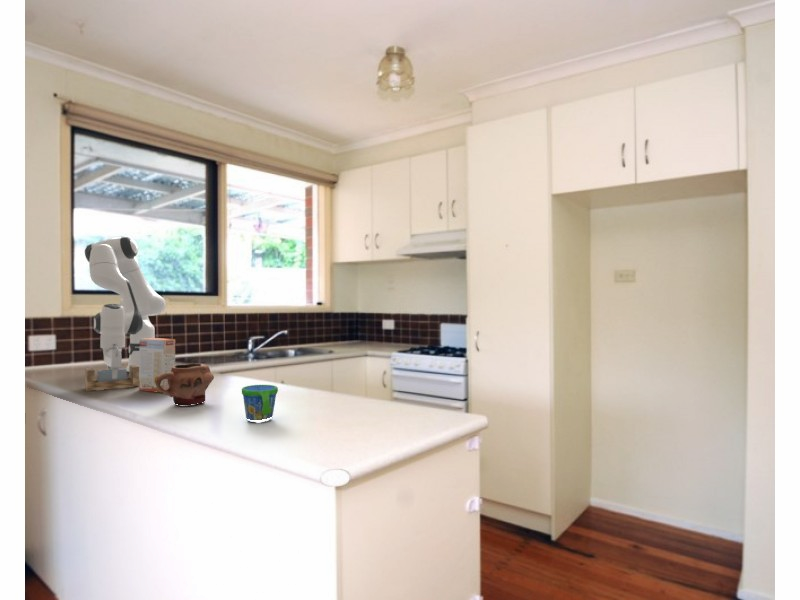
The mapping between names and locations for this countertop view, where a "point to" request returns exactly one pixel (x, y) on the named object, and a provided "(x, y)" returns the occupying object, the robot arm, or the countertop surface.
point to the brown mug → (187, 383)
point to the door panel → (107, 375)
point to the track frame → (96, 385)
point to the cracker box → (155, 362)
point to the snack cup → (259, 401)
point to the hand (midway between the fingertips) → (112, 376)
